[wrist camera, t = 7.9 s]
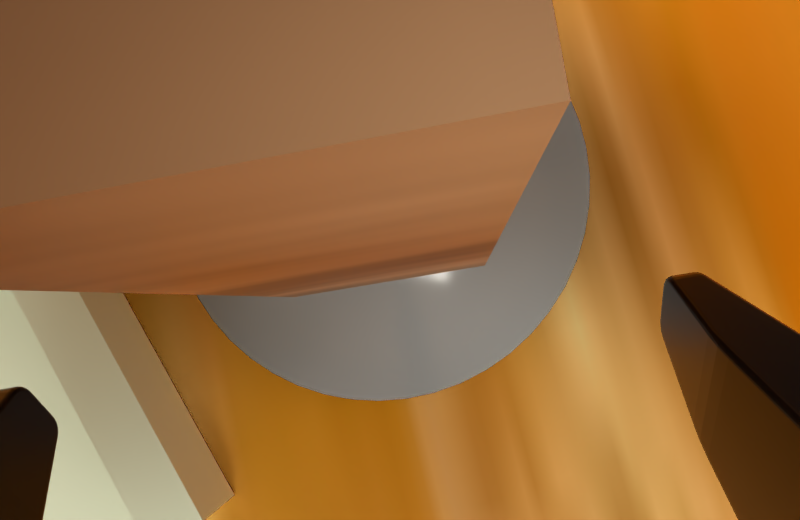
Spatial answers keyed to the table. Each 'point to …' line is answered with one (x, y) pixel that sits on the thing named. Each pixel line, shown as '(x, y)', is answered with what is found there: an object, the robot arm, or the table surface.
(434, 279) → the slate coaster
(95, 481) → the pocket
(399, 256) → the oak block
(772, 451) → the robot arm
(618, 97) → the table surface
